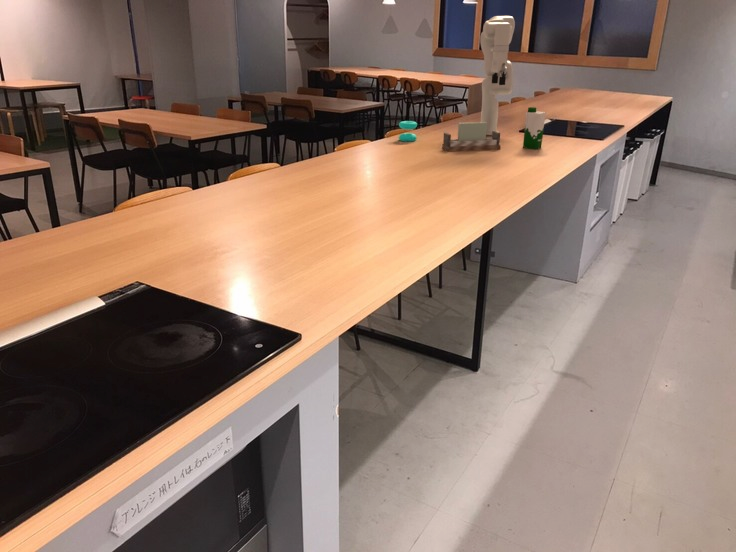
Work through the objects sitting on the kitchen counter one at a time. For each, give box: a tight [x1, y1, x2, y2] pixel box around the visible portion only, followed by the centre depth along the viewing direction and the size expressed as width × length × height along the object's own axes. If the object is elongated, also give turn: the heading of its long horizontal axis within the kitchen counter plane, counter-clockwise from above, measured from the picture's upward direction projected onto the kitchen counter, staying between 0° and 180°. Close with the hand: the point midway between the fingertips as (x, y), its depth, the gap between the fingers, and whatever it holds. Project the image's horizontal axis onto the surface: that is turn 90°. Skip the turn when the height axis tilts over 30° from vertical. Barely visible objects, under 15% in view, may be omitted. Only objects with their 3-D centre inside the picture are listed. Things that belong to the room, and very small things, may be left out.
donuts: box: [398, 120, 418, 142], centre depth 321 cm, size 10×10×10 cm
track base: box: [441, 130, 501, 152], centre depth 298 cm, size 28×10×8 cm, turn 101°
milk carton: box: [522, 106, 547, 150], centre depth 298 cm, size 9×9×20 cm
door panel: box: [457, 121, 487, 141], centre depth 297 cm, size 14×3×11 cm, turn 101°
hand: (498, 84), depth 304 cm, fingers open, 9 cm apart
